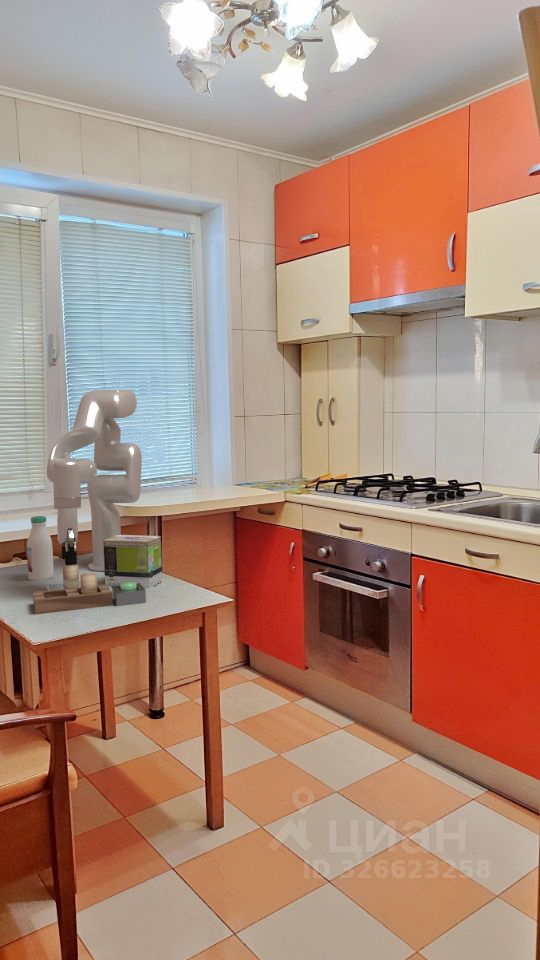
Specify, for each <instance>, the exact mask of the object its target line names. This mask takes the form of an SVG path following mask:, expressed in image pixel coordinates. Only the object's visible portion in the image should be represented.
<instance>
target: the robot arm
mask: <svg viewBox="0 0 540 960" xmlns="http://www.w3.org/2000/svg"><path fill="white" fill-rule="evenodd" d="M137 402H138V401H137V396H136V394H135V393H134V392H133V390H131V389H97V390H91V391H88V392H86V394H84V395H83V396H82V397H81V399H80V402H79V405H78V408H77V412H76V415H75V420H74V423H73V427H72V429H71V430H69V431H68V432H67V433H65V434H64V435H63V436H61V437H60V438H59V439H58V440H57V441H56V442H55V444H53V446H52V448H51V451H50V453H49V457H48V461H47V464H46V476H47V478H48V480H49V481H50V482H51V483H52V484H53V485H52V486H53V489H52V490H53V509H54V510H56V511H57V519H56V520H57V522H56V523H57V541H58V543H59V544H60V545H61V558H62V560H64V565H76V564H77V565H78V554H77V553H78V552H77V545H76V544H77V543H78V540H79V539H78V536H79V535H78V533H79V532H78V530H79V529H78V528H79V527H78V526H79V524H78V509H81V508H82V496H81V494H82V493H81V489H82V488H81V485H84V484H87V485H86V491H87V496H88V500H89V507H90V514H91V515H90V516H91V541H92V543H91V544H92V562H91V563H89V564H88V569H89V570H90V571H95V572H105V571H104V547H103V540H105V539H108V538H111V537H113V536H116V535H122V534H121V533H122V531H121V530H122V529H121V527H122V526H121V515H120V512H119V510H118V509H117V507H116V506H115V505H114V504H133V503H136V502H137V501H139V499H140V496H141V487H142V486H141V485H142V484H141V483H142V465H143V464H142V463H143V462H142V461H143V459H142V451H141V448H140V447H139V446H138V445H137V444H136V443H132V442H121V433H122V432H121V427H120V425H119V424H118V422H117V421H116V420H115V419H117V420H118V419H125V418H128V417H130V416H132V415H133V414H134V413H135V412H136V410H137V407H138V406H137V404H138V403H137ZM92 444H94V449H93V460H91V459H89V458H81V457H79V458H75V457H73V458H67V457H68V456H69V455H70V454H71V453H73V452H75V451H77V450H80V449H83V448H85V447H88V446H90V445H92ZM98 471H102V472H125V473H126V474H98V473H97V472H98Z"/></svg>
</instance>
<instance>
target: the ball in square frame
mask: <svg viewBox="0 0 540 960" xmlns="http://www.w3.org/2000/svg"><path fill="white" fill-rule="evenodd" d="M136 589H137V590H130V591H121V590H120V586H111V592H112V602H113V603H114V604H115V605H116V607H120V606H129V605H138V604H146V603H147V593H146V592H147V591H146V588H143V587H142V585H141V584H140V583H139V584H136Z"/></svg>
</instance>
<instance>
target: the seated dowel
mask: <svg viewBox="0 0 540 960" xmlns="http://www.w3.org/2000/svg"><path fill="white" fill-rule="evenodd" d="M79 576H80V577H79V581H81V594H88V593H97V585H98V579H97V578H98V573H97V572H84V573H80V574H79Z"/></svg>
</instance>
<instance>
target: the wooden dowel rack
mask: <svg viewBox="0 0 540 960" xmlns="http://www.w3.org/2000/svg"><path fill="white" fill-rule="evenodd" d="M32 598H33V599H32V601H33V607H34V613H35V615H40V614H49V613H58V612H59V613H60V612H67V611H68V612H69V611H75V610H85V609H93V608H94V609H95V608H103V607H111V606H113V605H114V604H113V603H114V602H113V599H112V589H111V588H110V586H107V584H105V583H104V584H97V593H88V594H81V587H74V588H65V589H55V590H47V589H46V590H38V591H37V590H36V591H33V592H32Z"/></svg>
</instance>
